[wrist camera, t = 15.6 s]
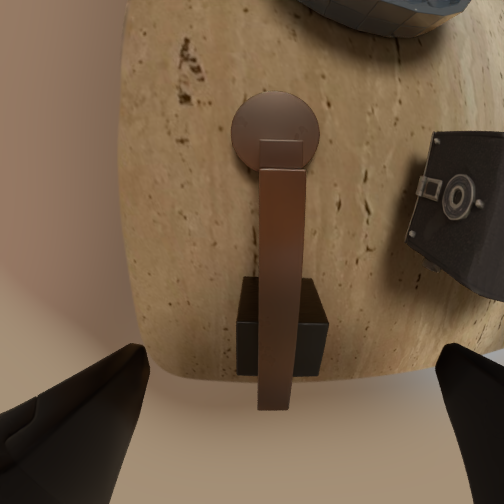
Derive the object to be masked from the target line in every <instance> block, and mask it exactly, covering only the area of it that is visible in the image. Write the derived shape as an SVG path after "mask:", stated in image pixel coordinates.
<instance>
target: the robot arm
mask: <svg viewBox="0 0 504 504" xmlns="http://www.w3.org/2000/svg"><path fill="white" fill-rule="evenodd" d="M435 371H436V375H437V378H438V381H439V385H440V388H441V391H442V395H443V399H444V403H445V406H446V409H447V412H448V415H449V418H450V421H451V424H452V427H453V429H454V432H455V435H456V438H457V442H458V445H459V448H460V451H461V455H462V458H463V462H464V465H465V469H466V472H467V476H468V480H469V484H470V488H471V493H472V498H473V503H474V504H504V366H502V365H500V364H498V363H496V362H494V361H492V360H490V359H488V358H486V357H483V356H482V355H480V354H478V353H476V352H474V351H472V350H470V349H468V348H465V347H463V346H461V345H459V344H457V343H450V344H446V345H445V346H444V347H443V349H442V351H441V354H440V356H439V358H438V360H437V363H436V366H435ZM149 375H150V366H149V361H148V357H147V353H146V349H145V347H144V346H143V345H140V344H134V343H130V344H128V345H126V346H125V347H123V348H121V349H119V350H118V351H116V352H114V353H112V354H111V355H109V356H107V357H105V358H104V359H102V360H100V361H99V362H97V363H95V364H93V365H92V366H89V367H88V368H86V369H84V370H83V371H81V372H79V373H77V374H75V375H73V376H72V377H70V378H68V379H66V380H64V381H63V382H61V383H59V384H57V385H56V386H54V387H52V388H50V389H48V390H46V391H45V392H43V393H41V394H39V395H38V397H33V398H32V399H30V400H28V401H26V402H24V403H22V404H20V405H18V406H16V407H14V408H12V409H10V410H8V411H6V412H3V413H1V414H0V504H109V503H110V499H111V496H112V493H113V490H114V487H115V484H116V481H117V478H118V475H119V472H120V469H121V466H122V463H123V460H124V457H125V455H126V452H127V449H128V446H129V443H130V441H131V438H132V435H133V432H134V430H135V427H136V424H137V421H138V418H139V415H140V411H141V407H142V403H143V398H144V395H145V391H146V386H147V382H148V379H149Z"/></svg>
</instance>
